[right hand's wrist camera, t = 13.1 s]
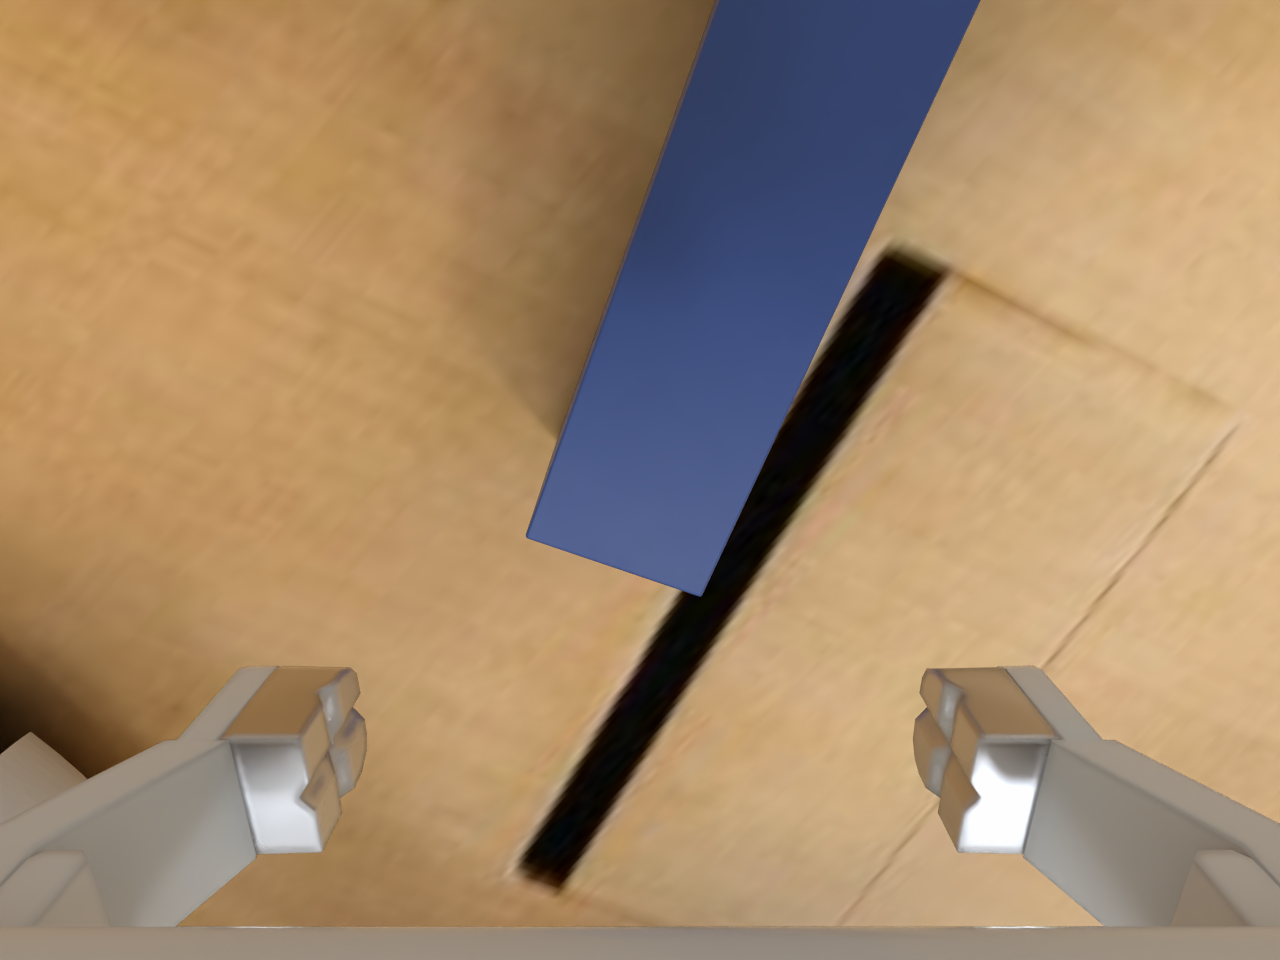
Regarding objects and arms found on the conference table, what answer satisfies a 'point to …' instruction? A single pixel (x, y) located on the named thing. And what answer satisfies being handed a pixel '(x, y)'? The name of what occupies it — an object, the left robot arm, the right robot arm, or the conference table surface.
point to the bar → (737, 271)
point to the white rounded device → (32, 775)
